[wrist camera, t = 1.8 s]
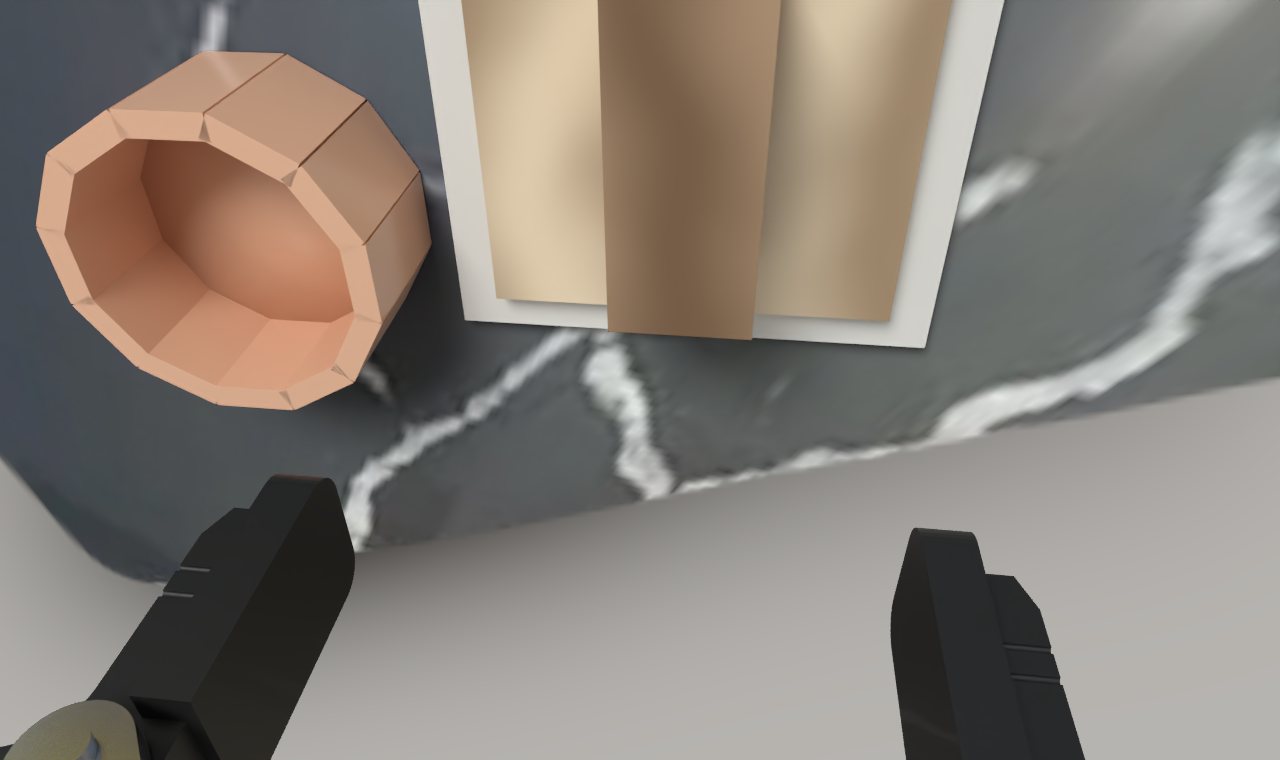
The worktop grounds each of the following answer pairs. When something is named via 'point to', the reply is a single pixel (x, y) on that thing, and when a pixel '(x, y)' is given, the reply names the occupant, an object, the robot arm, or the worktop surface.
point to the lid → (702, 154)
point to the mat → (908, 325)
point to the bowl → (238, 228)
